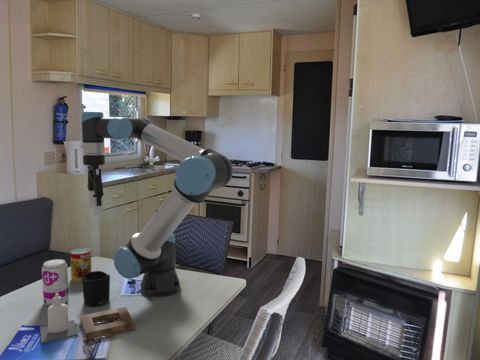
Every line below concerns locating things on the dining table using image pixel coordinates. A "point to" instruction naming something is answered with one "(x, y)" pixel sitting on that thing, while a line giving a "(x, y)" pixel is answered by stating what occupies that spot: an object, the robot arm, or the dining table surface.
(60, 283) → the supplement can
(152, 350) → the dining table surface
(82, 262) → the canned food
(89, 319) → the bottle holder
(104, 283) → the pen holder
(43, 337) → the rubber mat
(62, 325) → the eye dropper bottle
